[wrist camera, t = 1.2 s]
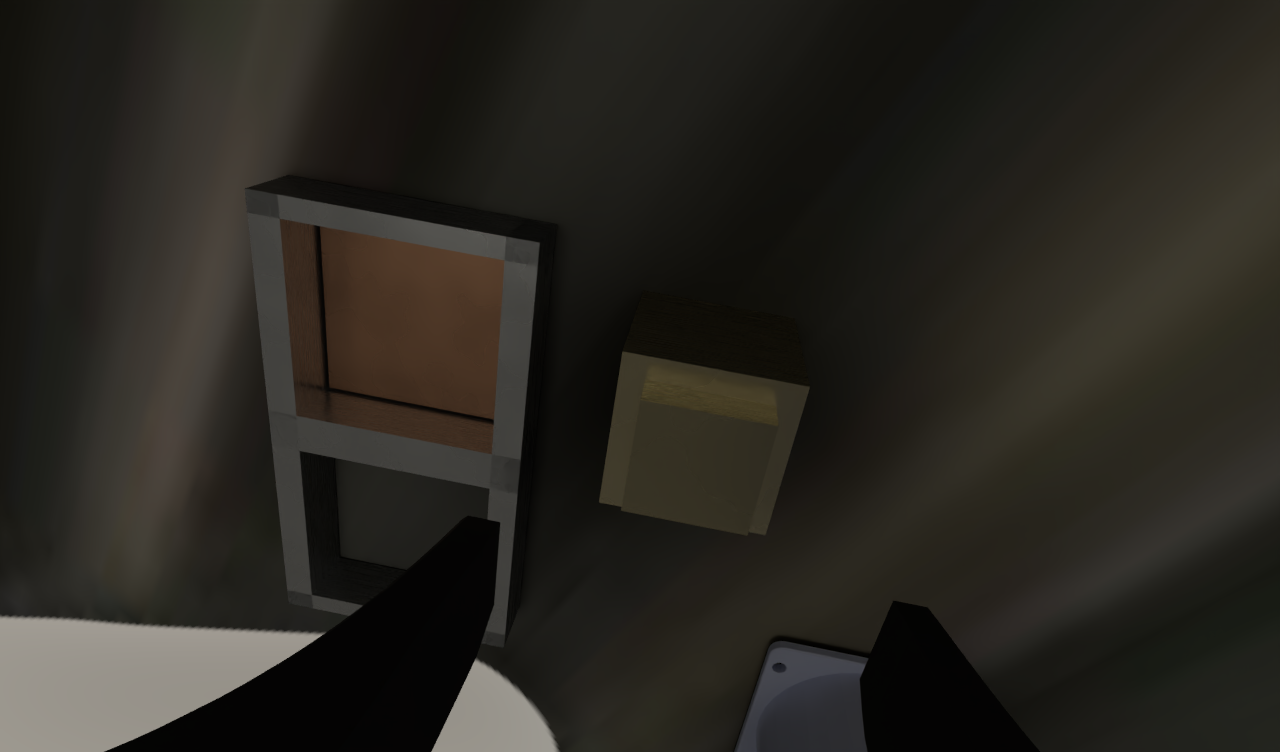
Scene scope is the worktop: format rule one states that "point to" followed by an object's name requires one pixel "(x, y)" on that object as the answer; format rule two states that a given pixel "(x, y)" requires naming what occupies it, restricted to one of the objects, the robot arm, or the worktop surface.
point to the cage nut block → (704, 414)
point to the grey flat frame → (396, 365)
